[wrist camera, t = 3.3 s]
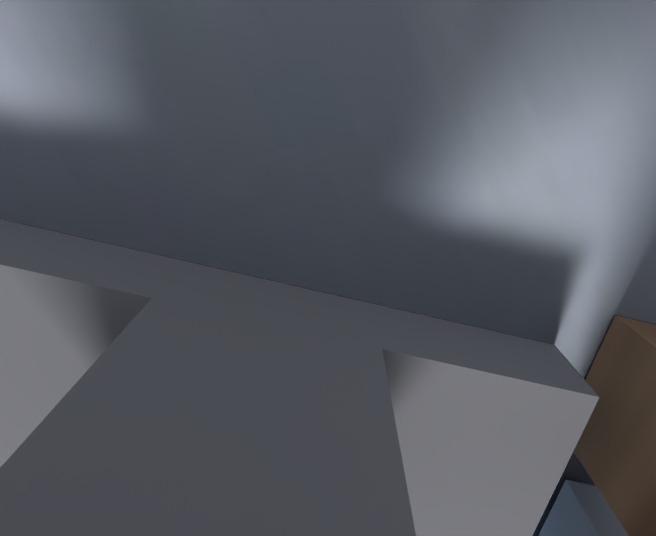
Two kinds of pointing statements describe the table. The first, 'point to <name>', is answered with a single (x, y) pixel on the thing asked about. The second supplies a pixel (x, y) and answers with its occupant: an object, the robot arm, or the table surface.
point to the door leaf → (581, 513)
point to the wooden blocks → (624, 425)
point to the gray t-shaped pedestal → (260, 406)
